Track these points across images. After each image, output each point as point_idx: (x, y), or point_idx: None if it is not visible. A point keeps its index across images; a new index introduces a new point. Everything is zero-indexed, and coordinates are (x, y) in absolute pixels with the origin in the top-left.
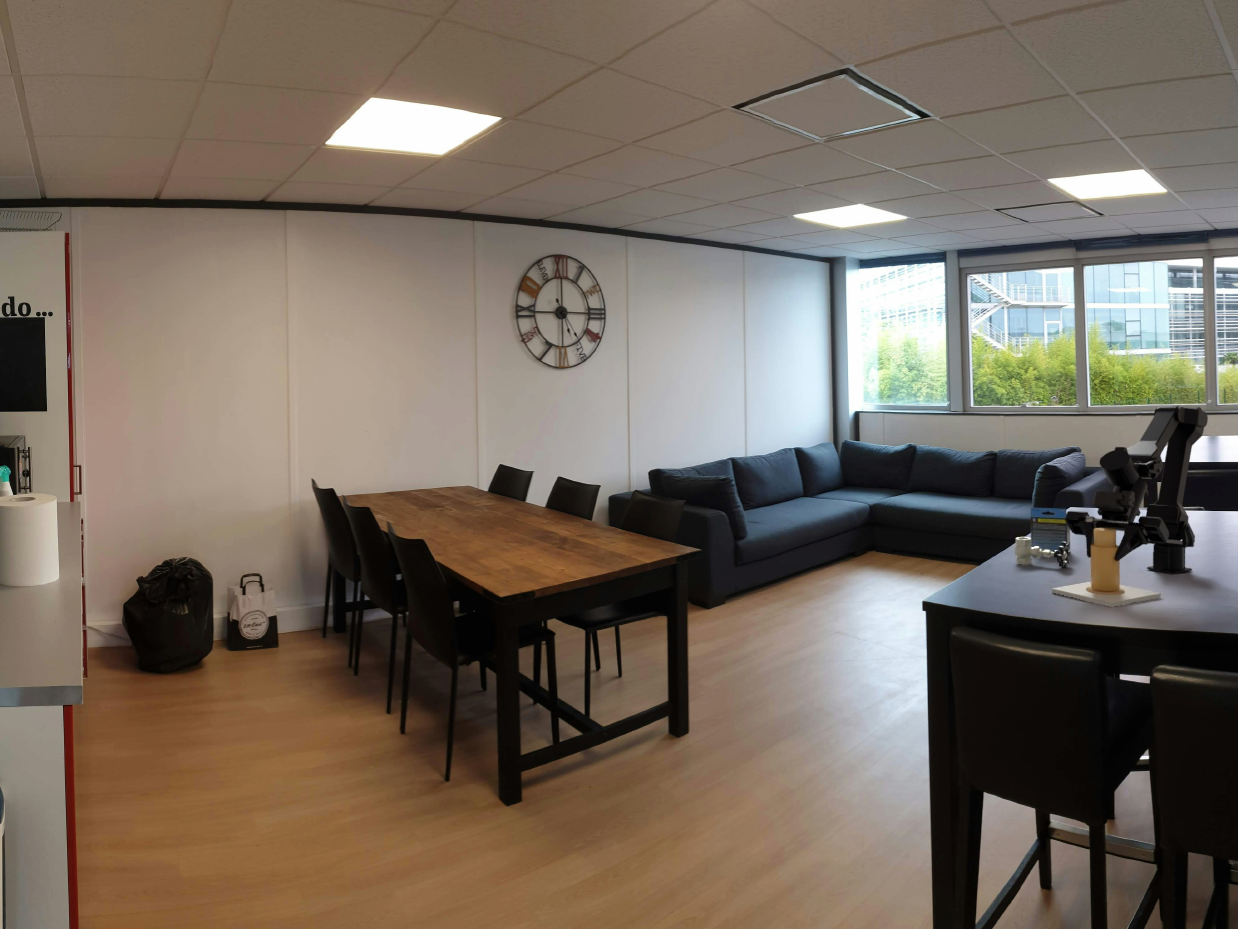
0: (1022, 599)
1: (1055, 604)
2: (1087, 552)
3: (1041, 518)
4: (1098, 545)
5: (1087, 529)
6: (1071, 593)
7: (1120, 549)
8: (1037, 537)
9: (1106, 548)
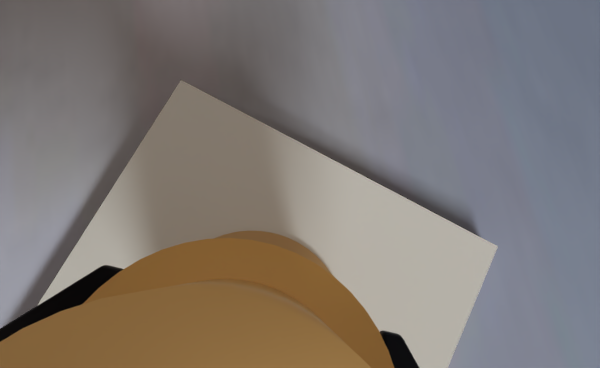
0: (548, 64)
1: (406, 40)
2: (403, 350)
3: None
4: (283, 293)
5: None
6: (386, 188)
7: (15, 332)
8: None
9: (177, 247)
